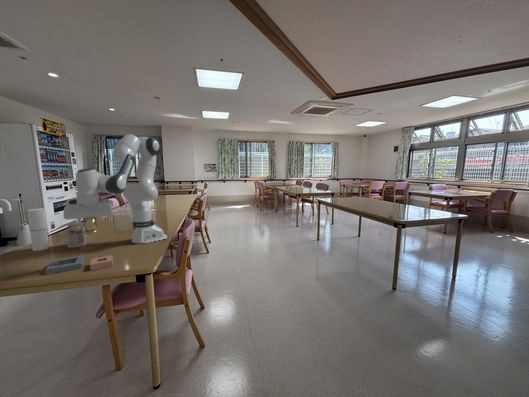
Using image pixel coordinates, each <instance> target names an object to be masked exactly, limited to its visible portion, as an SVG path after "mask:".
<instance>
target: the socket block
mask: <svg viewBox="0 0 529 397" xmlns="http://www.w3.org/2000/svg"><path fill="white" fill-rule="evenodd" d="M84 263H85V254H82V255H77V256H69V257H65V258H64V257H63V258H58V259H52V260H51V261H50V263H49V264H48V265H47V267H46V268H45V270H44V271H45V275H52V274H56V273H62V272H67V271H73V270H74V271H75V270H80V269H82V268H83V266H84Z"/></svg>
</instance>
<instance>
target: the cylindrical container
mask: <svg viewBox="0 0 529 397" xmlns="http://www.w3.org/2000/svg"><path fill="white" fill-rule="evenodd" d="M27 216H28V224H29V232H30V233H29V234H30V238H31V239H30V240H31V248H32V251H33V252H38V251H44V250H47V249H49V248H50V244H49V236H48V228H47V227H48V226H47V220H46V213H45V208H43V207H42V208H31V209H27Z"/></svg>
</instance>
